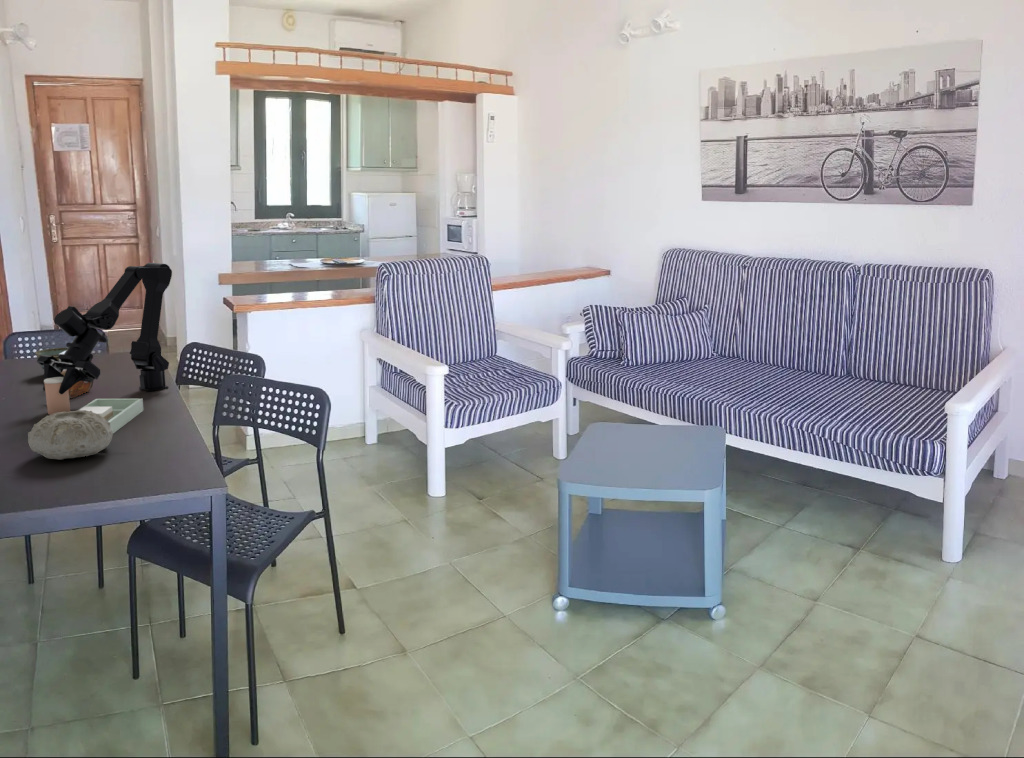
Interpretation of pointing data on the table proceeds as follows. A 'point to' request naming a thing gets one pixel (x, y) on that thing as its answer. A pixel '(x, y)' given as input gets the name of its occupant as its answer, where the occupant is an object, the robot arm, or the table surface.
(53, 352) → the bowl
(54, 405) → the canister
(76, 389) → the tin
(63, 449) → the grey rounded lump
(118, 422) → the tote
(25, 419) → the table surface
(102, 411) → the block
